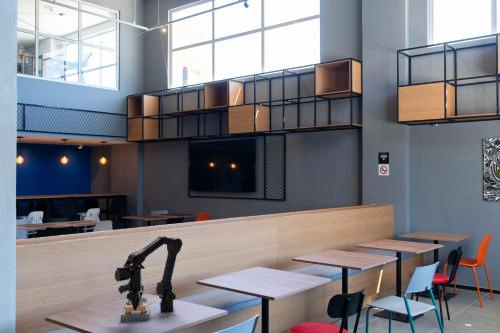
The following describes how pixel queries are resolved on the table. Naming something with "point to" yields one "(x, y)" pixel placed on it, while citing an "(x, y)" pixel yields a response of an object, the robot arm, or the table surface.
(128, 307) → the clip
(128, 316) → the slotted plate
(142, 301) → the metal bracket
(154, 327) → the table surface
